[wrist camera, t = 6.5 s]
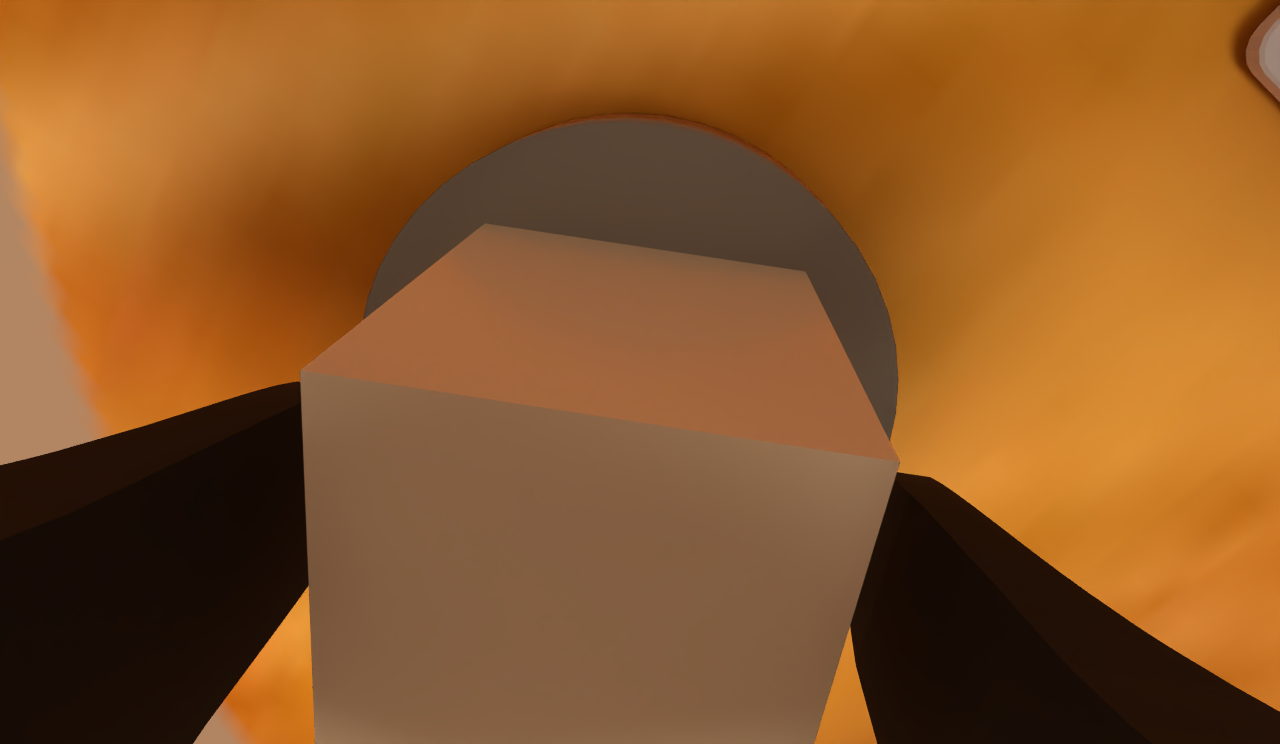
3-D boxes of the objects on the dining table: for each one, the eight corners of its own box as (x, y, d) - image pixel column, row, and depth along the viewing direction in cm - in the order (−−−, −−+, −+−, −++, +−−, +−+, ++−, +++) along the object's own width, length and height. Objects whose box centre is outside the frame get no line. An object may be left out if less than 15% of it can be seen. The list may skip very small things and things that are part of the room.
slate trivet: (976, 328, 14) (1019, 370, 12) (668, 625, 17) (665, 693, 15) (581, -6, 12) (560, -17, 11) (318, 388, 15) (267, 434, 14)
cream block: (805, 271, 12) (899, 462, 6) (744, 540, 14) (776, 867, 8) (484, 223, 12) (299, 370, 6) (469, 497, 14) (317, 792, 8)
